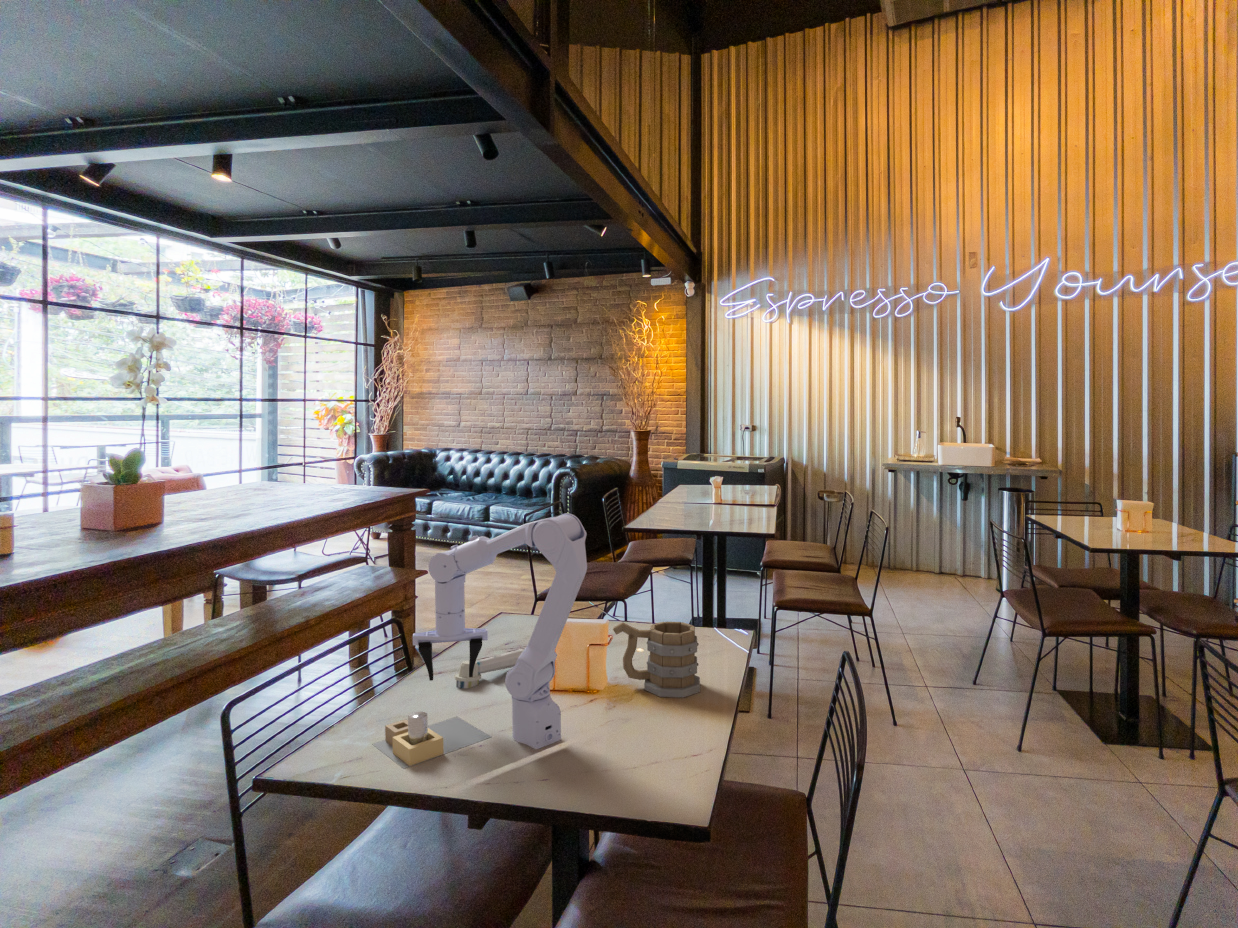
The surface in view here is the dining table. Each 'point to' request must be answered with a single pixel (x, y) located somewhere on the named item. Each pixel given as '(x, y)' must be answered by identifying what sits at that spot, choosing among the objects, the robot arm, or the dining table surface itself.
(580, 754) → the dining table surface
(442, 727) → the fitting board
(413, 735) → the metal round peg
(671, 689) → the tankard
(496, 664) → the toothbrush head
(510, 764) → the dining table surface
